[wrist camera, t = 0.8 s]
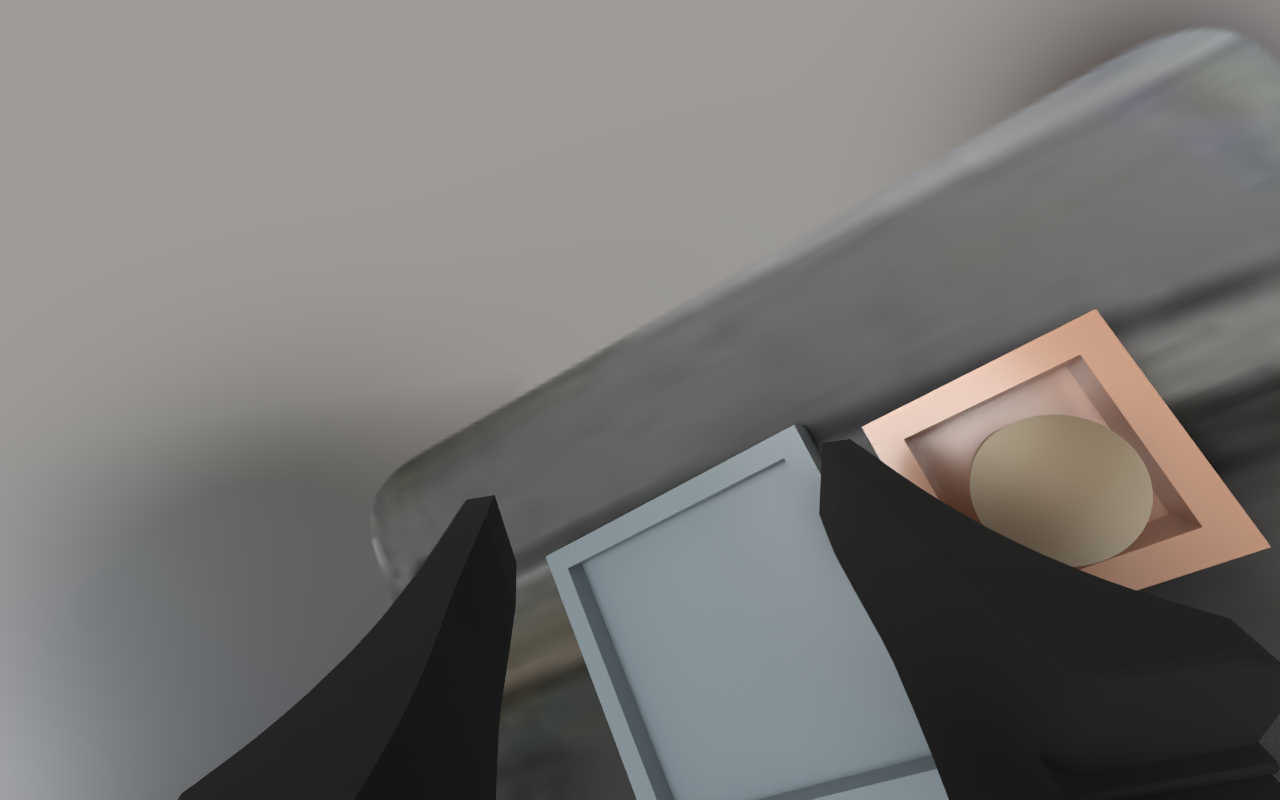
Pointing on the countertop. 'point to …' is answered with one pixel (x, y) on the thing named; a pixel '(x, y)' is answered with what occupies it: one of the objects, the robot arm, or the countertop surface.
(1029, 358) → the terracotta square open box
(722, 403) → the countertop surface
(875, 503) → the robot arm
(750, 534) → the slate tray
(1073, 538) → the beech dowel
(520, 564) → the countertop surface
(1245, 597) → the countertop surface
